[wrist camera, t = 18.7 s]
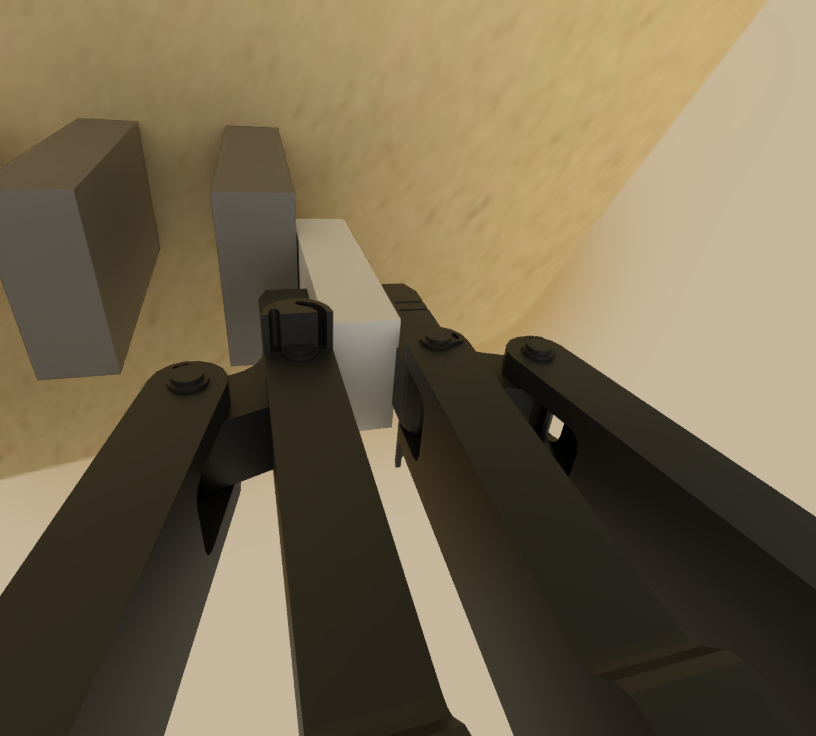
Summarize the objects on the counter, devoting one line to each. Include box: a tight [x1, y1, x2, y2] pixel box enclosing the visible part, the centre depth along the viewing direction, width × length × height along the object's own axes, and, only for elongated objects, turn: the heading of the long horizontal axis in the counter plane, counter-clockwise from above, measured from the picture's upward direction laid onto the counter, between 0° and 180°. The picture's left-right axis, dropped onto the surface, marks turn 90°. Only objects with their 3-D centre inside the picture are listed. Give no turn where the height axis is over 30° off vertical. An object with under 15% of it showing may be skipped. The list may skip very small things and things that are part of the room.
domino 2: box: [210, 126, 298, 366], centre depth 18 cm, size 2×5×10 cm, turn 175°
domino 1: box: [0, 119, 160, 380], centre depth 17 cm, size 2×5×10 cm, turn 175°
